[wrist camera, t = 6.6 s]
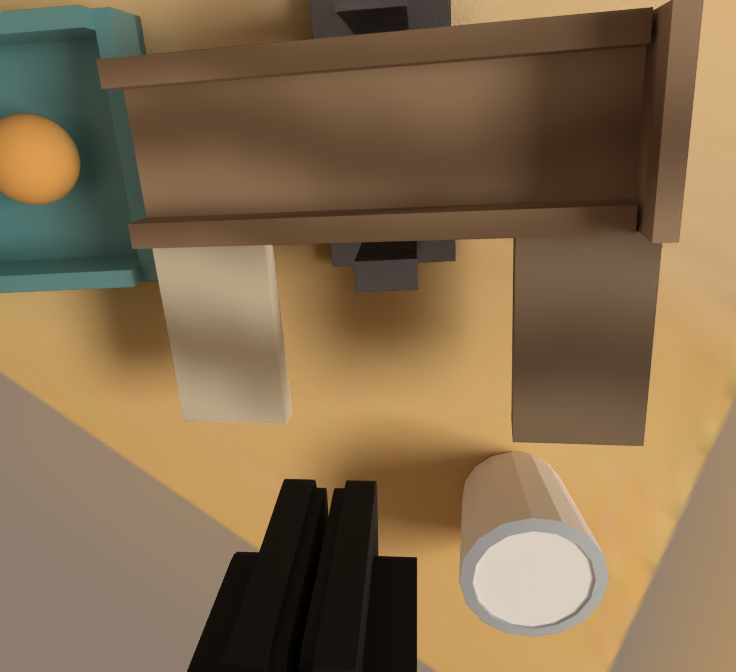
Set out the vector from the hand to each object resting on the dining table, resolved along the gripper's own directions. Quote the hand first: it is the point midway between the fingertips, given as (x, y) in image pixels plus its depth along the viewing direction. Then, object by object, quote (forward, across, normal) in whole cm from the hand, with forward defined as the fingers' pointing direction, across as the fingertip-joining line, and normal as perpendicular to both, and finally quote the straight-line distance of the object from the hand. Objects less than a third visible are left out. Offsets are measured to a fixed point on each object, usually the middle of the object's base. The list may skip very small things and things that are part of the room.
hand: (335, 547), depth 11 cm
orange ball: (+19, +16, -5) cm, 26 cm away
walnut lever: (+16, 0, -2) cm, 16 cm away
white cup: (+22, -7, +14) cm, 27 cm away
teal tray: (+22, +16, -5) cm, 28 cm away
